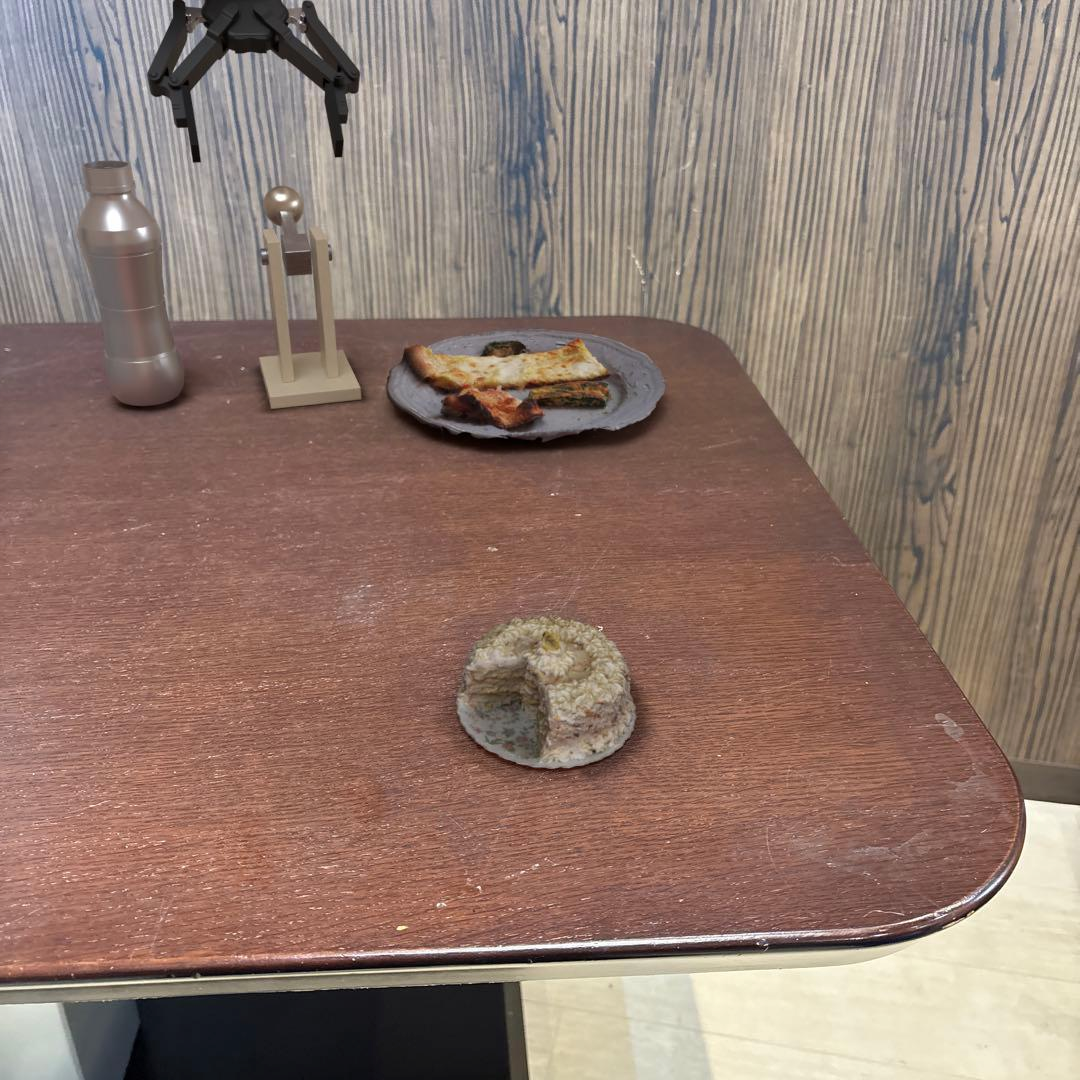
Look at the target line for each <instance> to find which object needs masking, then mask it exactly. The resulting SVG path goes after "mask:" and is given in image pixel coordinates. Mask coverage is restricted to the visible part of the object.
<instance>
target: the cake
mask: <svg viewBox="0 0 1080 1080" xmlns="http://www.w3.org/2000/svg"><path fill="white" fill-rule="evenodd" d="M629 675H630V669H629V667H628V664H627V661H626V659H625V656H624V655H623V654H622V653H621V652H620V650H619V649H618V647H617V645H616V644H615V643H614V642H613V641H612V640H609V639H607V637H606V636H605V634H604V633H603V632H602V631H600V630H599V629H598V627H597V628H596V627H593V626H591V625H590V624H585V623H583V622H580V621H575V620H573V619H572V618H571V619H563V617H562V618H561V616H559V617H557V618H555V617H554V616H553V614H552V613H549V615H548V616H543V615H540V616H530V615H528V616H527V617H526V618H525V619H524V618H520V617H517V616H515V617H514V618H512V619H510V620H509V621H506V623H505V624H504V623H498V625H497V626H496V625H495V626H493V627H492V629H491V630H488V632H487V633H482V634H481V638H480V640H476V641H474V642H473V644H472V648H470V652H469V653H468V654H467V657H466V659H465V666H464V668H463V670H462V673H461V682H460V685H459V687H458V689H457V690H456V698H455V699H454V703H455V705H456V709H455V713H456V715H457V716H458V717H459V723H460V725H461V726H462V727H463V728H464V731H465V732H466V734H467V735H469V736H470V737H471V738H472V739H473V740H474V742H475V743H477V744H478V745H480V746H481V747H483V748H484V749H485V750H486V751H488V752H490V753H493V754H496V755H498V757H499V758H502V759H504V760H507V761H511V762H513V763H514V762H515V763H516V764H518V765H523V766H528V767H531V768H538V769H539V768H546V769H554V770H556V769H558V768H563V769H570V768H574V767H577V766H578V767H580V766H585V765H588V764H590V763H594V762H598V761H601V760H603V759H604V758H606V757H609V756H611V755H614V753H615V751H617V750H619V749H621V748H623V747H624V744H625V743H626V741H627V740H628V739H629V738H631V735H632V733H633V731H634V730H635V726H636V720H637V714H636V709H637V706H636V704H635V703H634V697H632V695H631V693H630V691H631V683H632V682H631V681H632V679H631V677H629Z"/></svg>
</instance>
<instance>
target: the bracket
mask: <svg viewBox="0 0 1080 1080" xmlns="http://www.w3.org/2000/svg"><path fill="white" fill-rule="evenodd" d="M308 234H309V246H310V249H311V260H312V277H313V289H314V300H315V301H314V302H315V310H316V311H315V312H316V321H317V332H318V333H317V334H318V341H319V342H318V343H319V351H312V352H311V351H310V352H302V353H292V346H291V337H290V335H291V334H290V327H289V317H288V308H287V299H286V289H285V282H284V280H285V279H284V271H283V263H282V262H283V260H282V251H281V242H280V240H279V238H278V236H277V234H276V231H275V228H264V229H262V240H263V248H259V255H260V256H259V257H260V262H261V266H266V275H267V283H268V292H269V300H270V301H269V302H270V309H271V317H272V318H271V319H272V326H273V327H272V328H273V335H274V343H275V350H276V351H275V352H276V353H275V354H276V355H268V356H259V357H258V362H259V369H260V373H261V376H262V380H263V384H264V387H265V392H266V395H267V399H268V402H269V406H270V409H271V410H275V409H276V410H277V409H286V408H294V407H303V406H312V405H313V406H315V405H322V404H332V403H341V402H350V401H351V402H352V401H361V400H362V387H361V385H360V383H359V381H358V379H357V377H356V375H355V372H354V371H353V369H352V366H351V365H350V362H349V360H348V358H347V356H346V354H345V351H344V350H343V349H338V348H337V339H336V327H335V325H336V324H335V314H334V313H335V312H334V303H333V289H332V288H333V287H332V278H331V267H330V266H331V265H330V262H332V261H333V250H332V246H331V244H329V242H328V241H329V240H328V237H327V236H326V234H325V233H324V231H323V229H322V227H321V226H320V225H316V226H314V225H313V226H308Z"/></svg>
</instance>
